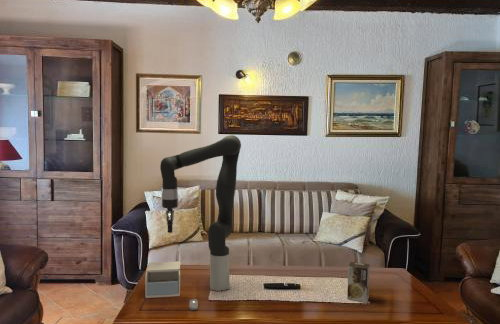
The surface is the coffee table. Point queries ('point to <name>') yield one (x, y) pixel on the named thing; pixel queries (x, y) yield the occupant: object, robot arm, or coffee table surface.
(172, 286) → the tray
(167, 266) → the beige shelf
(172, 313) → the coffee table surface
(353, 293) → the coffee box
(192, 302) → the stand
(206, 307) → the coffee table surface
